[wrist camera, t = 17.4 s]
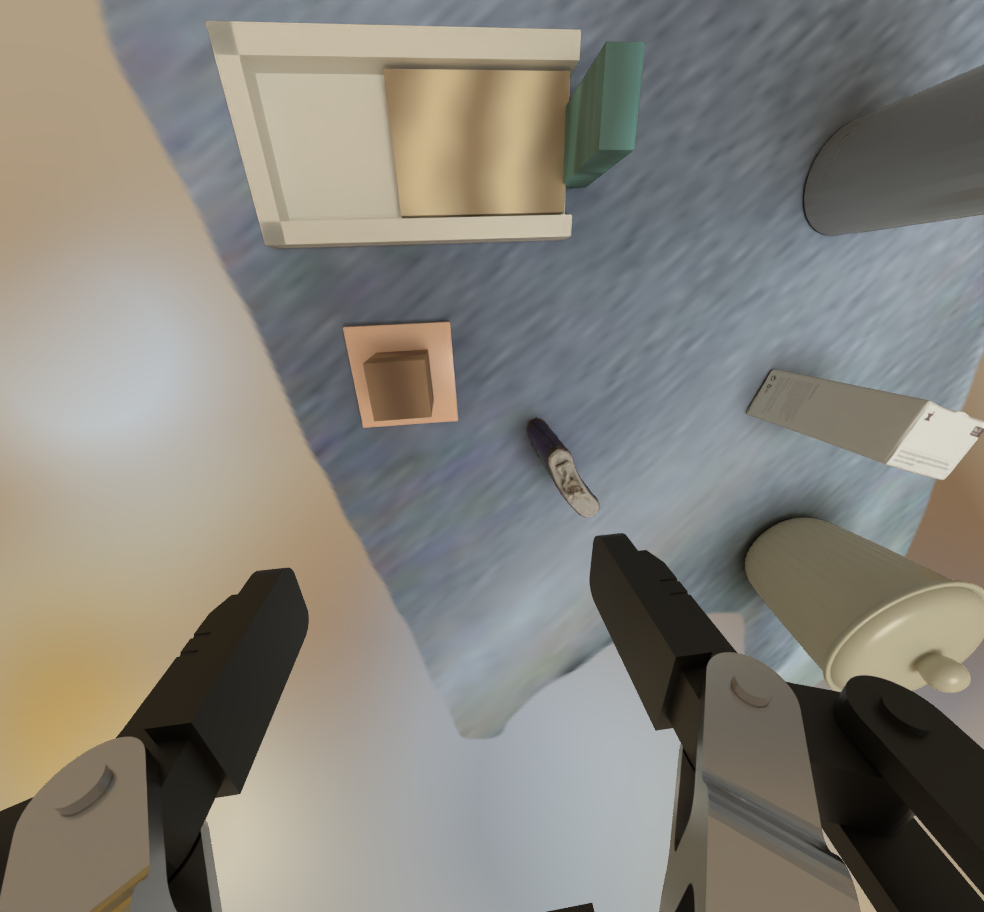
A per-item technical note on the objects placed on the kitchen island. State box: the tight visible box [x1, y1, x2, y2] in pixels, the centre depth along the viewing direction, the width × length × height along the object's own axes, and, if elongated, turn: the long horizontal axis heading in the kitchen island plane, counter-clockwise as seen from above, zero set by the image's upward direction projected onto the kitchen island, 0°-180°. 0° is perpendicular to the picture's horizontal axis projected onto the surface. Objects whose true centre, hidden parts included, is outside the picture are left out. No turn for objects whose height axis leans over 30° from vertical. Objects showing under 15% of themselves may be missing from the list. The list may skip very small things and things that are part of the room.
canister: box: [745, 518, 984, 693], centre depth 44 cm, size 18×18×21 cm
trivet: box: [343, 321, 458, 428], centre depth 36 cm, size 10×10×1 cm
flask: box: [527, 417, 600, 518], centre depth 37 cm, size 9×3×11 cm, turn 32°
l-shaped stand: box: [383, 42, 645, 218], centre depth 25 cm, size 16×9×9 cm, turn 92°
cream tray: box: [205, 21, 581, 249], centre depth 28 cm, size 26×13×2 cm, turn 92°
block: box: [363, 349, 434, 421], centre depth 33 cm, size 5×5×6 cm
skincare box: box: [747, 369, 984, 480], centre depth 36 cm, size 8×6×15 cm
